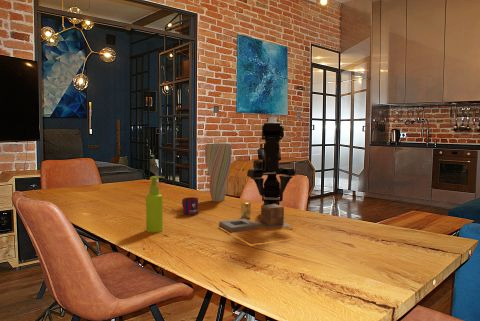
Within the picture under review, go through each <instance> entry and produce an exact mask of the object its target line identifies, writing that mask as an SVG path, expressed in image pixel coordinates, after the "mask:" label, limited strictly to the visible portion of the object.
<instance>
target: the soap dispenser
mask: <svg viewBox="0 0 480 321" xmlns="http://www.w3.org/2000/svg"><path fill="white" fill-rule="evenodd" d="M160 178H162V176H161V175H153V176H150V177H149V180H151V184H149V187H148V188H149V193H148V194H146V195H145V213H146V214H145V217H146V220H145V221H146V222H145V223H146V225H145V226H146V231H145V232H147V233H153V234H154V233H160V232H162V231H163V230H164V226H163V224H164V222H163V220H164V219H163V217H164V215H163V211H164V210H163V209H164V206H163V205H164V204H163V194H160V186H159V185H158V184H157V179H160Z"/></svg>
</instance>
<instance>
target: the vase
mask: <svg viewBox="0 0 480 321" xmlns="http://www.w3.org/2000/svg"><path fill="white" fill-rule="evenodd" d="M204 157H205V158H204V159H205V164H206V165H205V166H206V168H207V172H208V176H209V193H210V198H211V200H210V201H212V202H217V203H219V202H224V201H225V198H226V192H227V180H228V179H227V178H228V176H229V173H230V169H231V162H232V144H231V143H220V142H217V143H216V142H214V143H206V144H204Z"/></svg>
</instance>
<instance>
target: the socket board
mask: <svg viewBox="0 0 480 321" xmlns="http://www.w3.org/2000/svg"><path fill="white" fill-rule="evenodd" d="M218 225H219V226H218V227H220V228H221V229H223V230H225V231H227V232H228V233H230V234H232V232H243V231H249V230H256V229H259V225H258V224H256V223H254V221H251V220H250V219H241V218H239V219H228V220H219V221H218Z"/></svg>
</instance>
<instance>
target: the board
mask: <svg viewBox="0 0 480 321" xmlns="http://www.w3.org/2000/svg"><path fill="white" fill-rule="evenodd" d="M253 223H256V224H258V226H261V227H263V228H265V229H275V228H283V227H284V228H285V227H292V224H289V223H287V222H285V221H284V225H277V226H267V225H265V224H263V223H261V220H260V221H253Z"/></svg>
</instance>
